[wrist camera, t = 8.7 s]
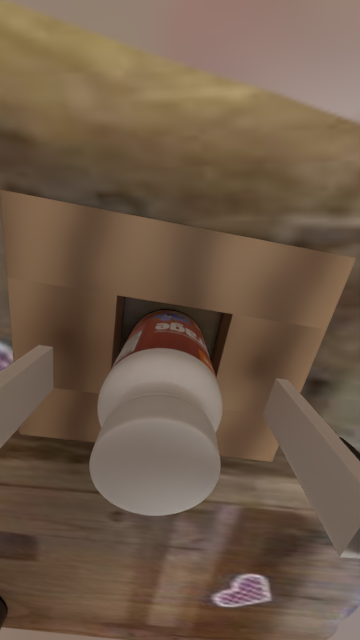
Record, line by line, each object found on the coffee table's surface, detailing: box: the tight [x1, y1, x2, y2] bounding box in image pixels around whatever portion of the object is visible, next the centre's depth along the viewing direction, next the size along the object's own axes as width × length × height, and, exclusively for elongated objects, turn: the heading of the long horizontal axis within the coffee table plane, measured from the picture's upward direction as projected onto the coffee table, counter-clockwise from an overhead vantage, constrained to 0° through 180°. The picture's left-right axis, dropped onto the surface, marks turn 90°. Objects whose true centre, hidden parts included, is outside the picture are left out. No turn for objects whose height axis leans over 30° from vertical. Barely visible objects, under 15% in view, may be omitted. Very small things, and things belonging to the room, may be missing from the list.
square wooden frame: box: [0, 190, 356, 462], centre depth 17 cm, size 22×18×2 cm
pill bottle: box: [89, 310, 222, 516], centre depth 13 cm, size 6×6×11 cm
